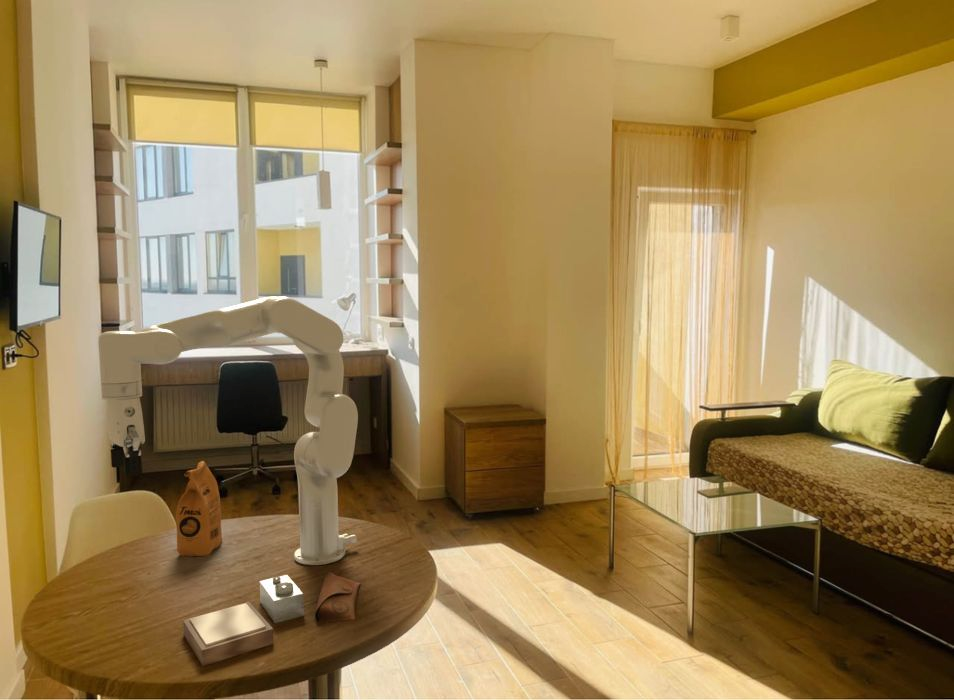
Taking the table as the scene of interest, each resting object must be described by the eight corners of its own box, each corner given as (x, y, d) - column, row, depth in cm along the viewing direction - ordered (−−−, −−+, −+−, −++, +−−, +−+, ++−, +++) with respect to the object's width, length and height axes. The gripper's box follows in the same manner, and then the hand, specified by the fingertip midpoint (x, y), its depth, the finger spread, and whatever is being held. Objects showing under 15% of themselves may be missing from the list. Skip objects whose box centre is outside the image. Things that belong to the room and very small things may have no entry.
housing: (287, 596, 152) (286, 569, 151) (303, 616, 143) (302, 587, 142) (260, 603, 149) (259, 575, 148) (274, 624, 139) (273, 594, 139)
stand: (249, 615, 143) (249, 599, 142) (273, 643, 131) (272, 626, 131) (183, 634, 135) (182, 618, 135) (202, 666, 124) (201, 648, 123)
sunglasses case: (357, 619, 141) (339, 593, 140) (327, 638, 140) (309, 612, 139) (361, 582, 158) (345, 558, 157) (335, 598, 158) (319, 575, 157)
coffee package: (170, 557, 174) (165, 472, 172) (191, 539, 186) (187, 460, 184) (209, 557, 173) (205, 472, 171) (228, 539, 186) (224, 460, 184)
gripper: (154, 392, 139) (158, 475, 141) (129, 384, 152) (133, 460, 153) (113, 397, 134) (118, 482, 136) (91, 387, 147) (96, 466, 148)
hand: (126, 470), depth 145 cm, fingers open, 9 cm apart
